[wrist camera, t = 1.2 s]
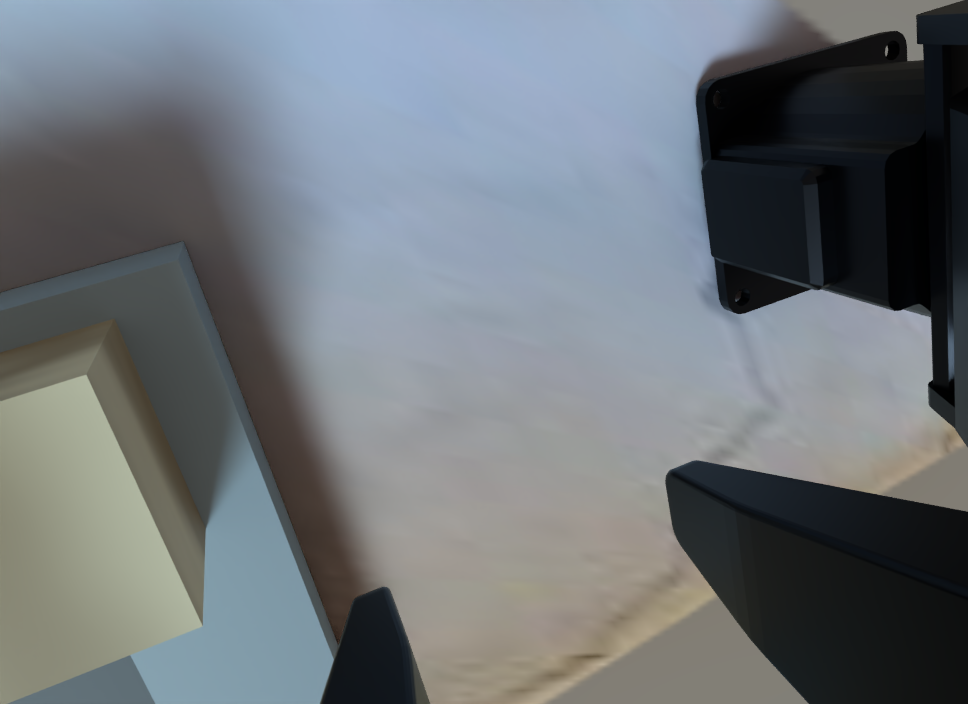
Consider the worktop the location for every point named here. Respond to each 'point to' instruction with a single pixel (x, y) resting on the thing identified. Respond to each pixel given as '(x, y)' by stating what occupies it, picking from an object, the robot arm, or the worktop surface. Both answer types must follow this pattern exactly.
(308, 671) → the board
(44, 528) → the block
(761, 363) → the worktop surface
